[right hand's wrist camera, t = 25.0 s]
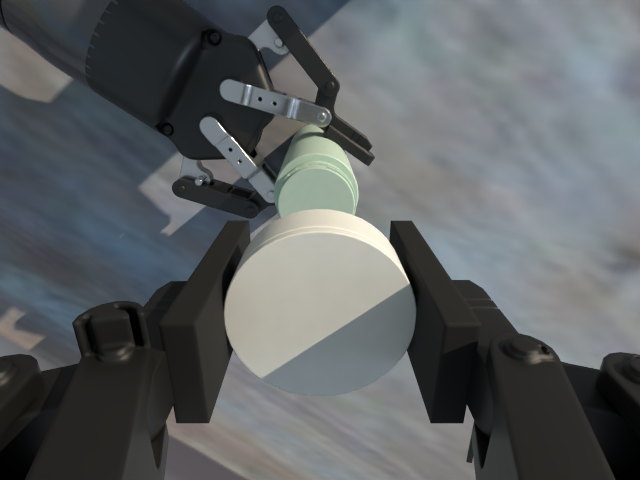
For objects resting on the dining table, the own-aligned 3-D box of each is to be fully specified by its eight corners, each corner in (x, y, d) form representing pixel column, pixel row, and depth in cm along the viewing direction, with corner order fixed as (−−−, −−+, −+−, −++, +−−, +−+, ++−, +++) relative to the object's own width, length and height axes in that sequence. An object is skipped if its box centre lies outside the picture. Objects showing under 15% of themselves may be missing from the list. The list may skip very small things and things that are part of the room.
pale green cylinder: (329, 184, 34) (338, 260, 20) (281, 164, 33) (256, 228, 19) (351, 137, 32) (378, 182, 18) (302, 114, 32) (290, 144, 18)
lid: (380, 186, 11) (392, 205, 9) (417, 332, 13) (433, 373, 11) (211, 236, 12) (191, 264, 10) (270, 370, 13) (262, 413, 12)
